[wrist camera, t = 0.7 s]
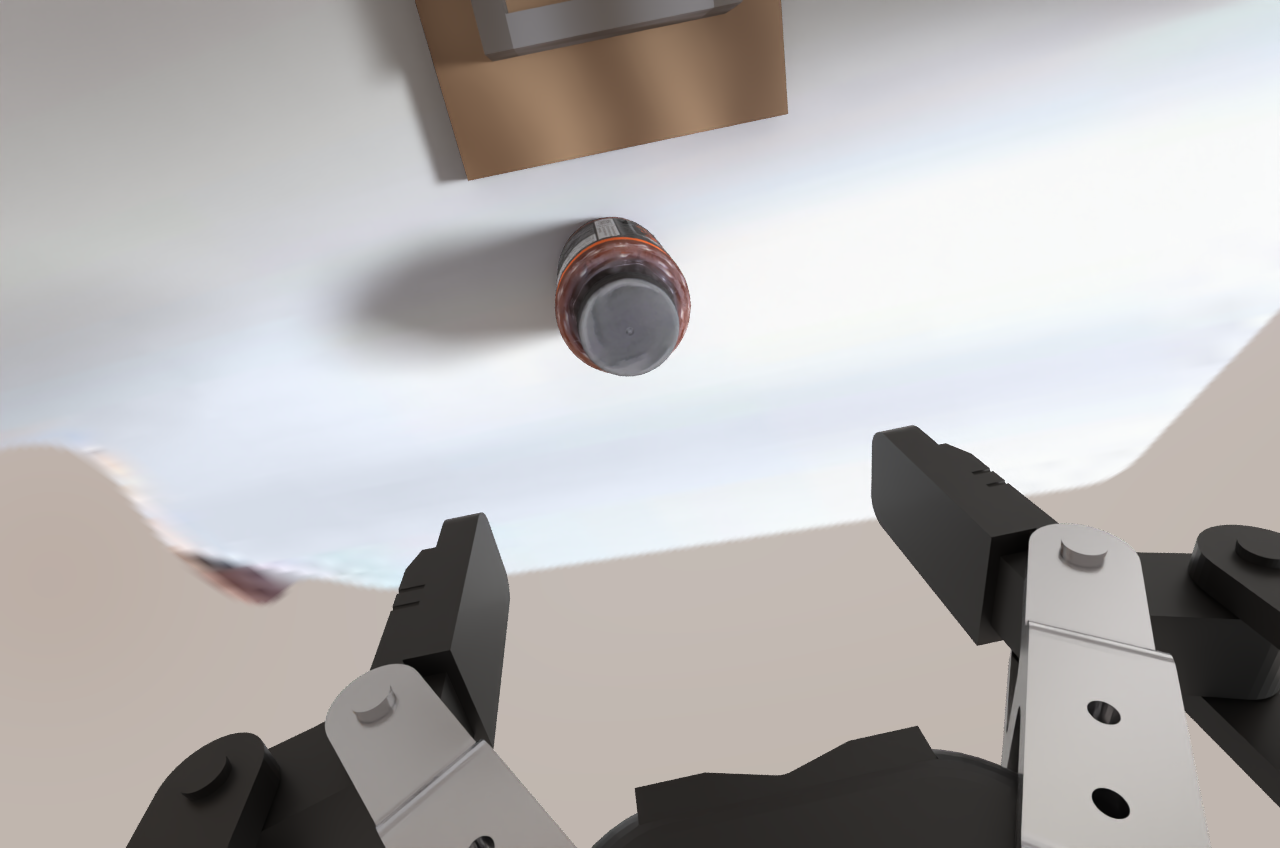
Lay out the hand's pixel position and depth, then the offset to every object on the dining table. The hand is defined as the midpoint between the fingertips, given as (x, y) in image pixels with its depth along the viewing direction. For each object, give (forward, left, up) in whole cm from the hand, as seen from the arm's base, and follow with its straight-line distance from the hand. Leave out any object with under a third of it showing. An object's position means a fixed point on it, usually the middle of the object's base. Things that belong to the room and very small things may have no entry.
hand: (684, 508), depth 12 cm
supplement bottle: (0, 0, -24) cm, 24 cm away
